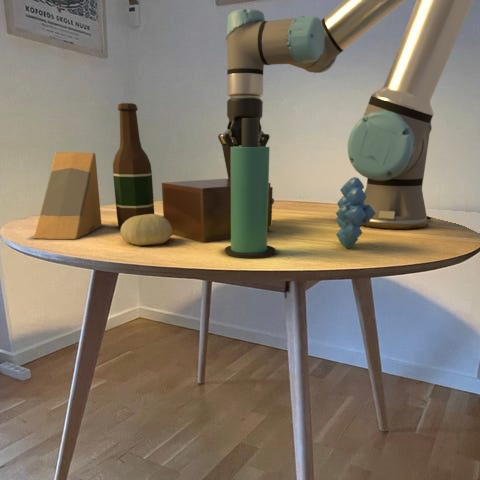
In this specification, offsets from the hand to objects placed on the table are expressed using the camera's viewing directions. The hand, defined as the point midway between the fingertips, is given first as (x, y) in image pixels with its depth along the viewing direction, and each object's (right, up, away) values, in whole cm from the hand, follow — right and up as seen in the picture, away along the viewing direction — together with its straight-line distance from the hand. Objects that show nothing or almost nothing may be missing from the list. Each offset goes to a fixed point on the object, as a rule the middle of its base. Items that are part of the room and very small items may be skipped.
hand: (243, 212), depth 107 cm
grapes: (+19, -12, -25) cm, 33 cm away
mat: (+1, -13, -28) cm, 31 cm away
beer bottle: (-23, -5, -7) cm, 24 cm away
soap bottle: (+1, -13, -29) cm, 32 cm away
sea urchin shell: (-18, -10, -21) cm, 29 cm away
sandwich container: (-35, -7, -12) cm, 38 cm away
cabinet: (-6, -7, -11) cm, 14 cm away
